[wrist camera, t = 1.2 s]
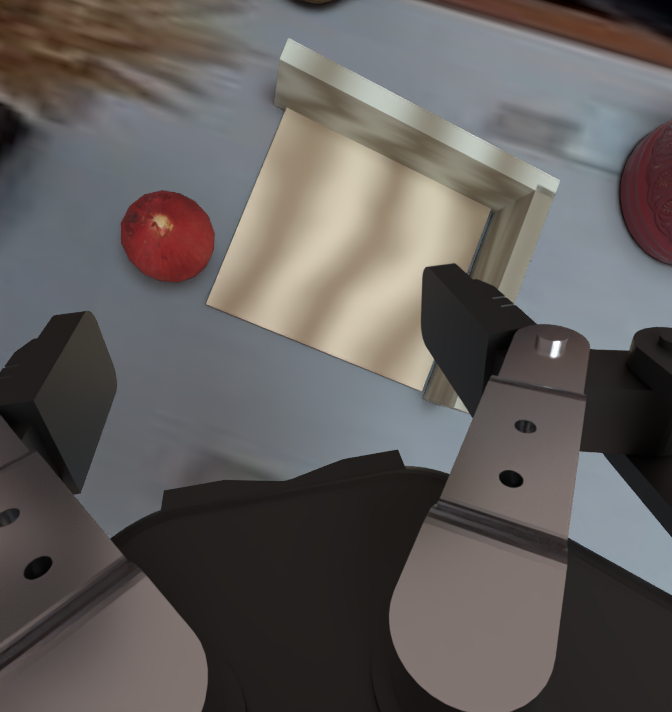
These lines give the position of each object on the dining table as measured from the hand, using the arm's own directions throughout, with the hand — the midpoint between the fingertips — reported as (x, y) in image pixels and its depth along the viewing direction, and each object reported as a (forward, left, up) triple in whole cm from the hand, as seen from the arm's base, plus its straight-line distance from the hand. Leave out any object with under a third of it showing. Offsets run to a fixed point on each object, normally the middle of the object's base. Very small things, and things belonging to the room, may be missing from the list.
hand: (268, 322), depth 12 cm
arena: (+5, +10, -25) cm, 28 cm away
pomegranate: (-8, +4, -25) cm, 27 cm away
